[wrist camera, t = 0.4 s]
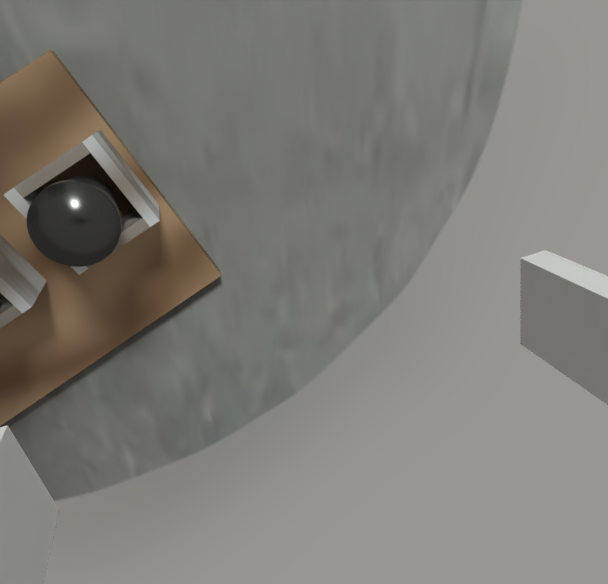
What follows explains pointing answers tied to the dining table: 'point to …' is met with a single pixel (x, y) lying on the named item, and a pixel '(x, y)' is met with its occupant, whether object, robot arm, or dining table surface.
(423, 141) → the dining table surface
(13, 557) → the robot arm
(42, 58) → the panel
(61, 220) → the black plunger
